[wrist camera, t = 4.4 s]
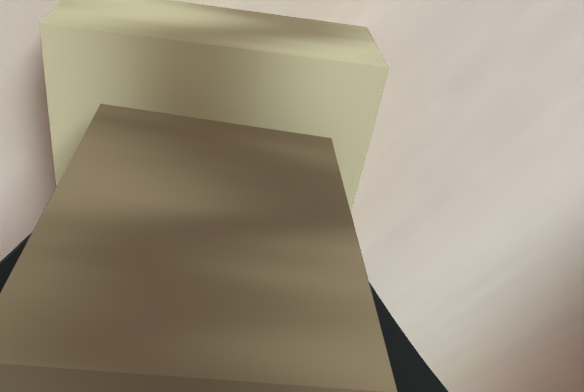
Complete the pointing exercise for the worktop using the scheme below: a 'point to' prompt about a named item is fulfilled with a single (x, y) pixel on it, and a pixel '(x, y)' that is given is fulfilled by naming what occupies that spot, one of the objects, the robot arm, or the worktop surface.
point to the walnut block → (193, 267)
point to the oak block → (212, 72)
